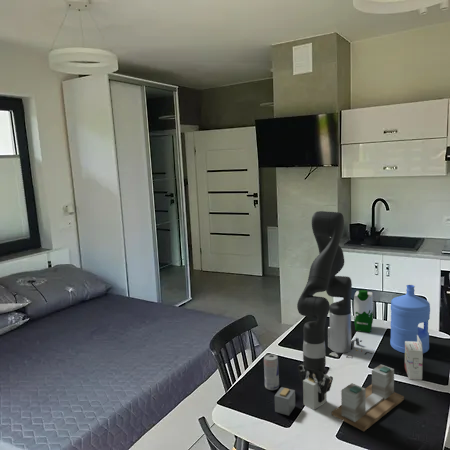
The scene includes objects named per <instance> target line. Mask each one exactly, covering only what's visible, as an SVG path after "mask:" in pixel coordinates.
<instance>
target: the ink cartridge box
mask: <svg viewBox="0 0 450 450" xmlns="http://www.w3.org/2000/svg"><path fill="white" fill-rule="evenodd" d="M419 342H420V343H419ZM423 355H424V353H423V350H422V342H421V341H420V339H419V337H418V335H417V342H413V341H405V353H404V370H405V373H406V375H407V377H408V379H409V380H419V381H421V380H423V358H424V357H423Z"/></svg>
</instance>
